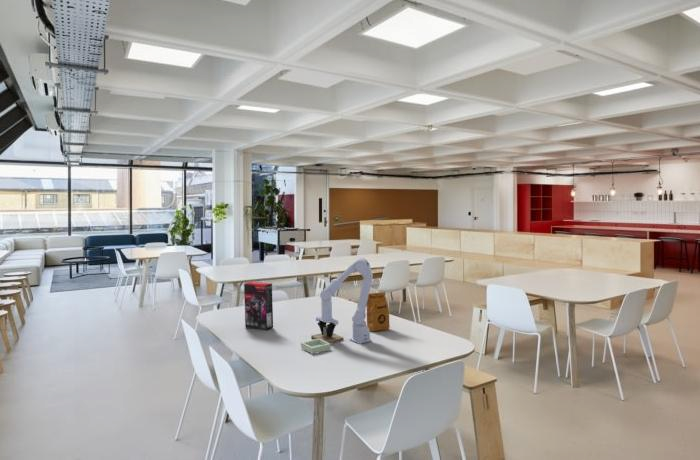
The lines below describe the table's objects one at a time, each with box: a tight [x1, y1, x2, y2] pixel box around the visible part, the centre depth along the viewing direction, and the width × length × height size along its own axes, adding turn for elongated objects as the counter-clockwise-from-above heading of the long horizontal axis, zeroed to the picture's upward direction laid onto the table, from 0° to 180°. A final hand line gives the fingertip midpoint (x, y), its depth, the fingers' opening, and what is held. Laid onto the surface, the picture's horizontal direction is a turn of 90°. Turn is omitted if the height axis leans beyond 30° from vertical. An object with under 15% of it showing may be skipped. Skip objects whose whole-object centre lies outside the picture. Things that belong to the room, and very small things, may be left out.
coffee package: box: [366, 291, 391, 332], centre depth 251 cm, size 10×12×22 cm
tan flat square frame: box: [310, 332, 344, 344], centre depth 235 cm, size 14×12×2 cm
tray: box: [300, 339, 332, 355], centre depth 219 cm, size 11×11×3 cm
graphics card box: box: [243, 281, 274, 331], centre depth 258 cm, size 17×7×27 cm, turn 62°
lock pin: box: [323, 325, 332, 338], centre depth 235 cm, size 4×4×7 cm
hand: (327, 335), depth 235 cm, fingers closed on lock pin, 4 cm apart
